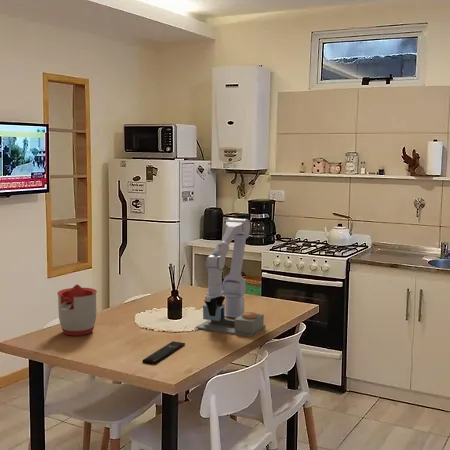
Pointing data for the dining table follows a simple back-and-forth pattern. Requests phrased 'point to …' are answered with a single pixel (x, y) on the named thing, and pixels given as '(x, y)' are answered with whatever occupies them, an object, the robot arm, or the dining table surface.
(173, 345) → the remote control
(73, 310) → the citrus juicer
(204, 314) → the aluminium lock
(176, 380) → the dining table surface
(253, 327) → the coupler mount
